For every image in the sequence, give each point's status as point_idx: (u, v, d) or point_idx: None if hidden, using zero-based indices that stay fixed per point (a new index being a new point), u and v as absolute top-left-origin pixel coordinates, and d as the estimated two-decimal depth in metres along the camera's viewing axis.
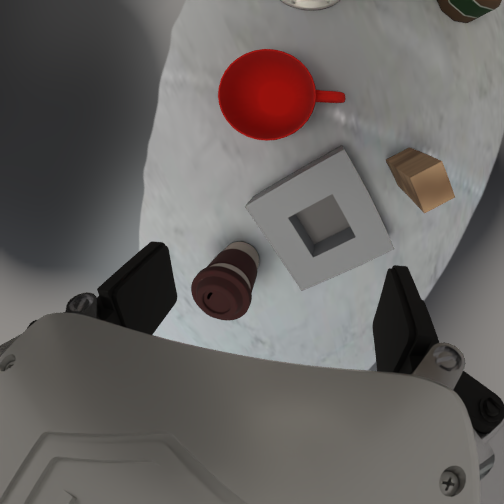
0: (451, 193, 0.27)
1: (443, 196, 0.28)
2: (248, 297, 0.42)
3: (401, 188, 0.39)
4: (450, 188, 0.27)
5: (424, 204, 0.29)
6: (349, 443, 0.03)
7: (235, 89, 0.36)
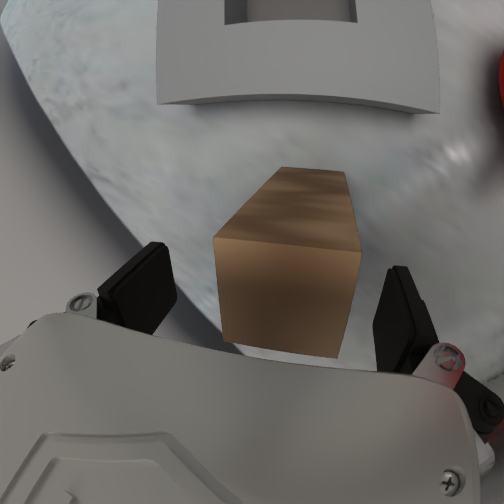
0: (237, 338, 0.12)
1: (239, 317, 0.11)
2: None
3: (278, 173, 0.19)
4: (252, 342, 0.11)
5: (244, 252, 0.09)
6: (349, 443, 0.03)
7: None
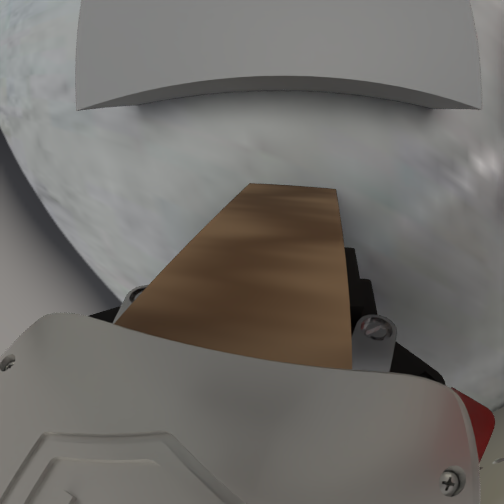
0: None
1: None
2: None
3: (241, 195, 0.14)
4: None
5: None
6: (349, 443, 0.03)
7: None
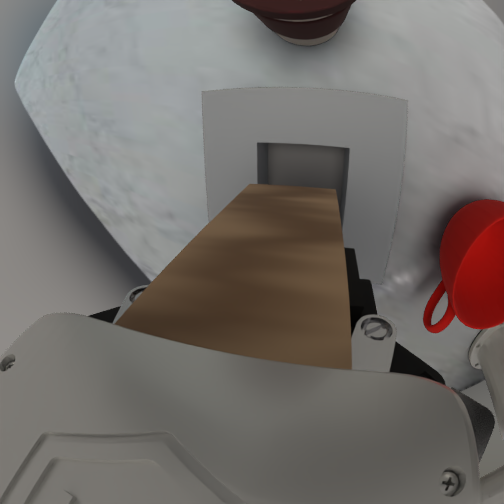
0: None
1: None
2: (256, 7, 0.11)
3: (241, 196, 0.14)
4: None
5: None
6: (349, 443, 0.03)
7: None
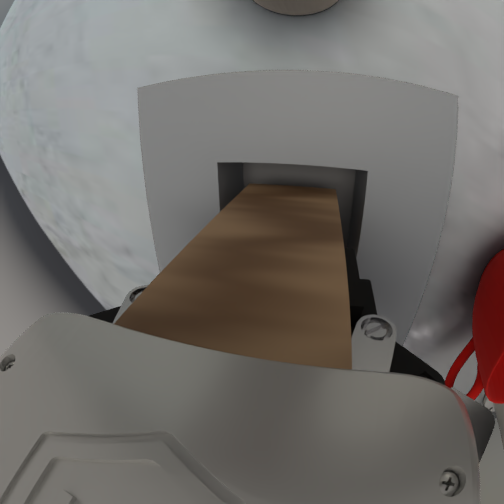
0: None
1: None
2: None
3: (241, 195, 0.14)
4: None
5: None
6: (349, 443, 0.03)
7: None
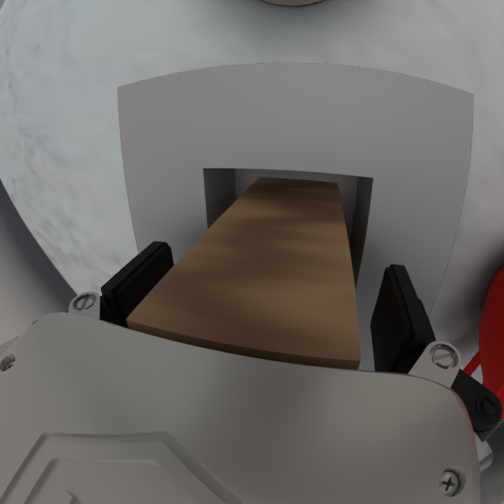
0: None
1: None
2: None
3: (253, 186, 0.15)
4: None
5: None
6: (349, 443, 0.03)
7: None
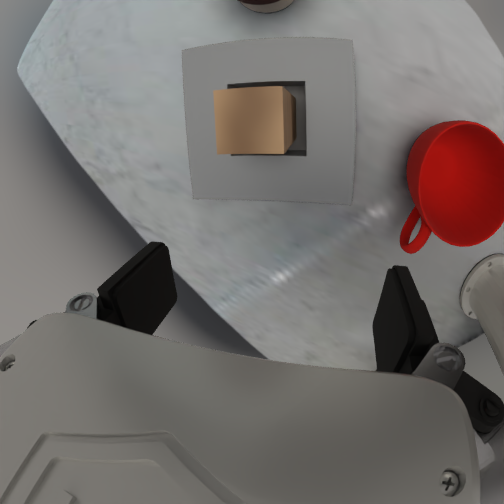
0: (225, 149, 0.20)
1: (226, 133, 0.19)
2: None
3: None
4: (234, 151, 0.19)
5: (228, 94, 0.17)
6: (349, 443, 0.03)
7: (482, 149, 0.21)
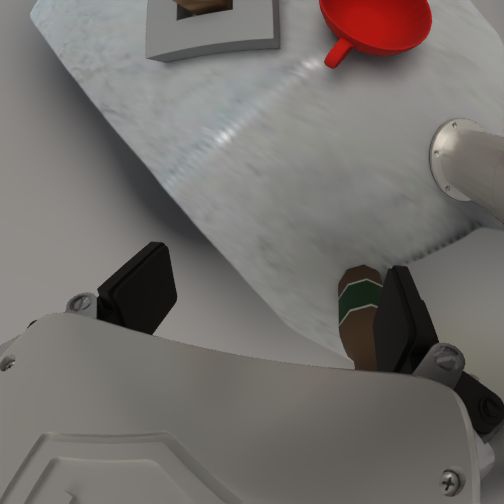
0: None
1: None
2: None
3: None
4: None
5: None
6: (349, 443, 0.03)
7: None
